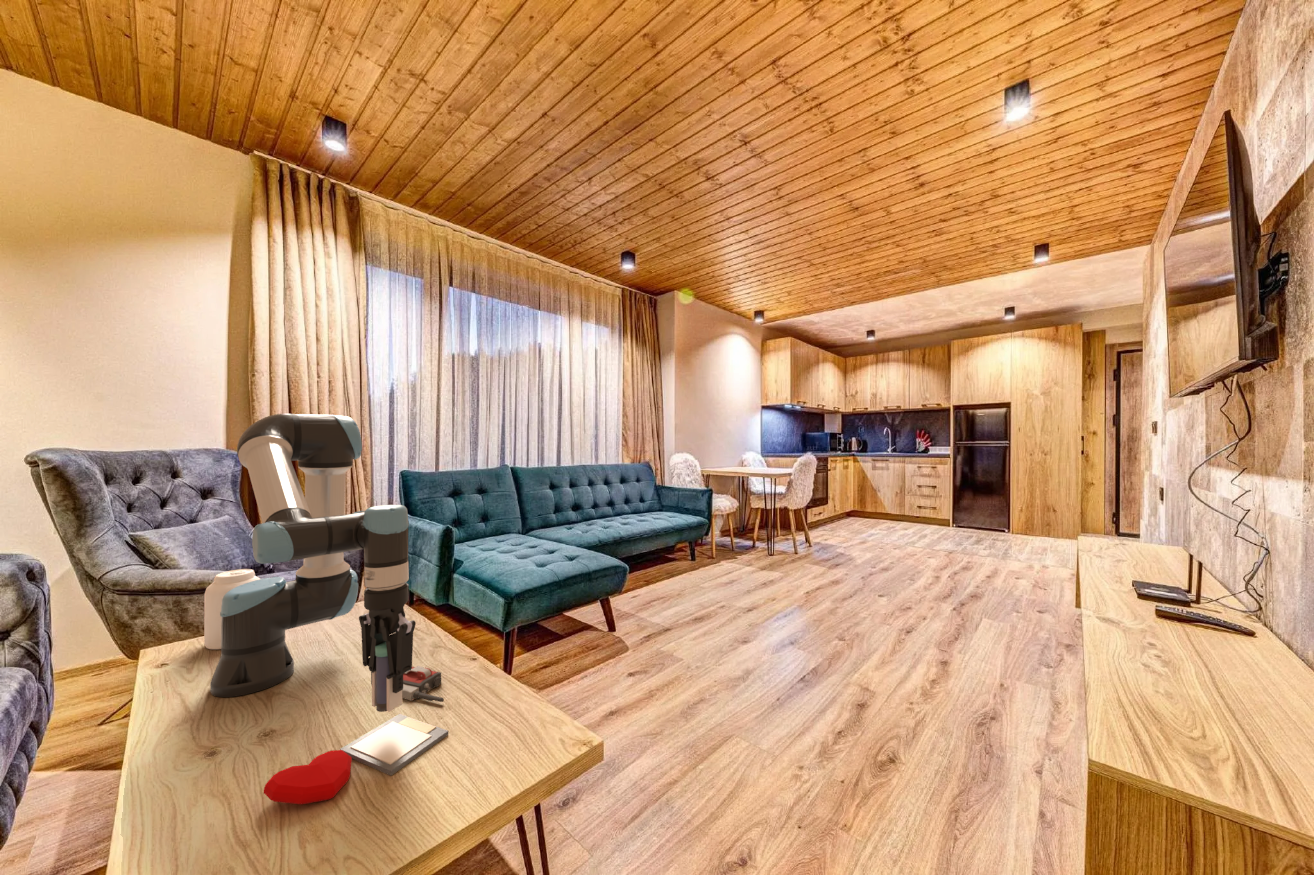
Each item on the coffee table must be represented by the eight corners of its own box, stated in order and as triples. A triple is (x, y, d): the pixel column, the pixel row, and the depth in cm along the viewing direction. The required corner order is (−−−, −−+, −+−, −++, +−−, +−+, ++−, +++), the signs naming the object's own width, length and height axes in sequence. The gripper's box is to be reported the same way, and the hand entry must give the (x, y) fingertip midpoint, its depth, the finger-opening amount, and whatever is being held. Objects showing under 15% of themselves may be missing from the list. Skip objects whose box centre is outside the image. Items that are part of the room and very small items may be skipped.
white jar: (262, 628, 142) (262, 563, 142) (263, 641, 132) (264, 572, 133) (205, 640, 133) (205, 571, 133) (203, 655, 124) (203, 581, 124)
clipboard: (339, 753, 85) (339, 748, 85) (399, 717, 96) (399, 712, 96) (391, 775, 79) (390, 770, 79) (448, 734, 90) (448, 729, 90)
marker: (370, 709, 89) (370, 647, 89) (389, 699, 92) (389, 639, 92) (384, 714, 87) (384, 650, 87) (403, 703, 91) (402, 642, 91)
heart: (368, 788, 78) (335, 763, 83) (374, 762, 79) (341, 739, 83) (288, 829, 68) (255, 798, 72) (295, 799, 68) (262, 770, 73)
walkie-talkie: (370, 693, 106) (439, 709, 99) (370, 674, 106) (439, 689, 99) (403, 675, 114) (468, 689, 107) (403, 657, 114) (468, 670, 107)
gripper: (340, 585, 90) (340, 706, 90) (397, 596, 83) (398, 726, 83) (377, 575, 97) (377, 687, 96) (433, 584, 90) (433, 704, 90)
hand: (387, 705), depth 90 cm, fingers closed on marker, 4 cm apart
